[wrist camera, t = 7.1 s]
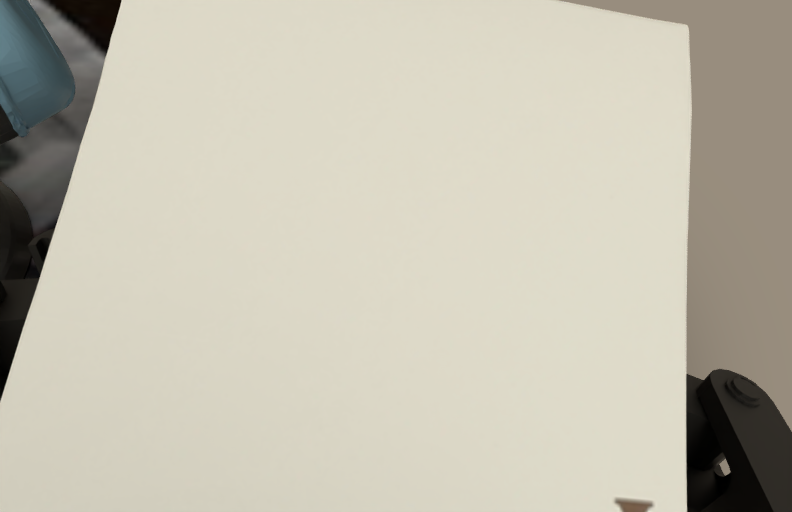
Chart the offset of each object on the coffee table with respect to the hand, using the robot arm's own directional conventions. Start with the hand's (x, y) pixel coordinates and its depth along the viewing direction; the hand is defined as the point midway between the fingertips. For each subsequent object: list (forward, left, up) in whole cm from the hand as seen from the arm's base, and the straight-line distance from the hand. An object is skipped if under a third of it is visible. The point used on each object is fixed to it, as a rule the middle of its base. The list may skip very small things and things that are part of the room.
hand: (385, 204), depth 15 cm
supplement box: (+3, -1, -6) cm, 7 cm away
